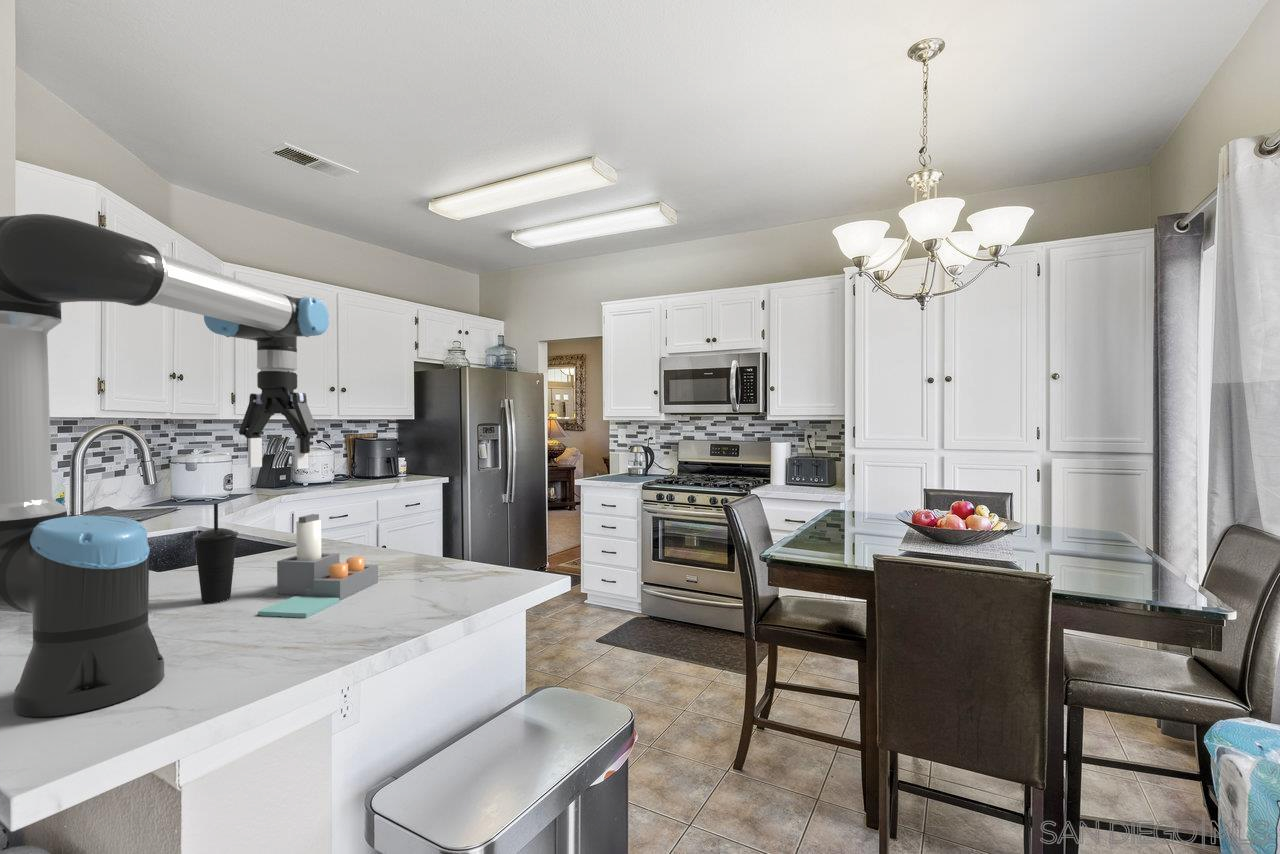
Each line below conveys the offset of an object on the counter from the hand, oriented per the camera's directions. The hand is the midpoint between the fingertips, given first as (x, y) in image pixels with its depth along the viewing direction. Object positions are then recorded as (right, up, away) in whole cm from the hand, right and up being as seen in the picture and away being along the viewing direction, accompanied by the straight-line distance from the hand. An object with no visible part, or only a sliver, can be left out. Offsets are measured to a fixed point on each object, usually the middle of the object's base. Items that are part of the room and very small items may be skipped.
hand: (278, 468), depth 131 cm
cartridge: (+7, -27, 0) cm, 28 cm away
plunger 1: (+15, -26, -4) cm, 30 cm away
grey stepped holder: (+10, -27, 0) cm, 29 cm away
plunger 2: (+16, -25, +2) cm, 30 cm away
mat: (+12, -27, -13) cm, 32 cm away
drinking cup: (-8, -27, -8) cm, 29 cm away
